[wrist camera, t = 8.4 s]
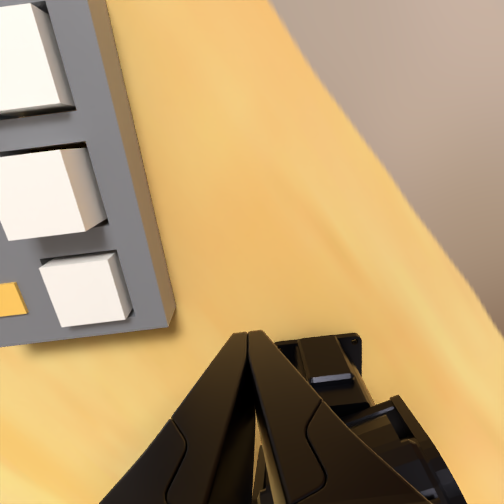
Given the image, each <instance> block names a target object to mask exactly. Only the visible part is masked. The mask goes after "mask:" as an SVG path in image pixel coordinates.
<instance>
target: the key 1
mask: <svg viewBox="0 0 504 504" xmlns="http://www.w3.org/2000/svg"><path fill="white" fill-rule="evenodd" d="M73 110H76V106H75V103H74V99H73V96H72V92H71V89H70V85H69V82H68V78H67V75H66V71H65V68H64V64H63V61H62V57H61V54H60V50H59V47H58V43H57V40H56V36H55V33H54V29H53V26H52V22H51V19H50V15H48V14H47V13H45V12H44V11H42V10H40V9H39V8H37V7H36V6H34V5H32V4H31V3H27V4H19V5H12V6H4V7H0V115H3V116H14V117H26V116H34V115H42V114H50V113H57V112H65V111H73Z"/></svg>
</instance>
